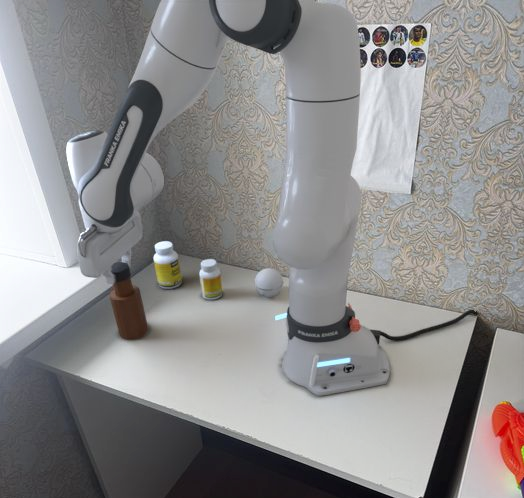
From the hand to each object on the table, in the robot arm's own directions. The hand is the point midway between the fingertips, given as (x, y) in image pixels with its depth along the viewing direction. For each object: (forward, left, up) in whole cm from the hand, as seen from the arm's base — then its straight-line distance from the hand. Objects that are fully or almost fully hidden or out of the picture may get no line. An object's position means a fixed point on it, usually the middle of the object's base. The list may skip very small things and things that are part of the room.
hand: (119, 275), depth 111 cm
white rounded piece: (-34, -13, -16) cm, 40 cm away
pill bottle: (-6, -22, -16) cm, 28 cm away
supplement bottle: (-18, -15, -16) cm, 28 cm away
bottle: (0, 0, -15) cm, 15 cm away
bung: (0, 0, -2) cm, 2 cm away
